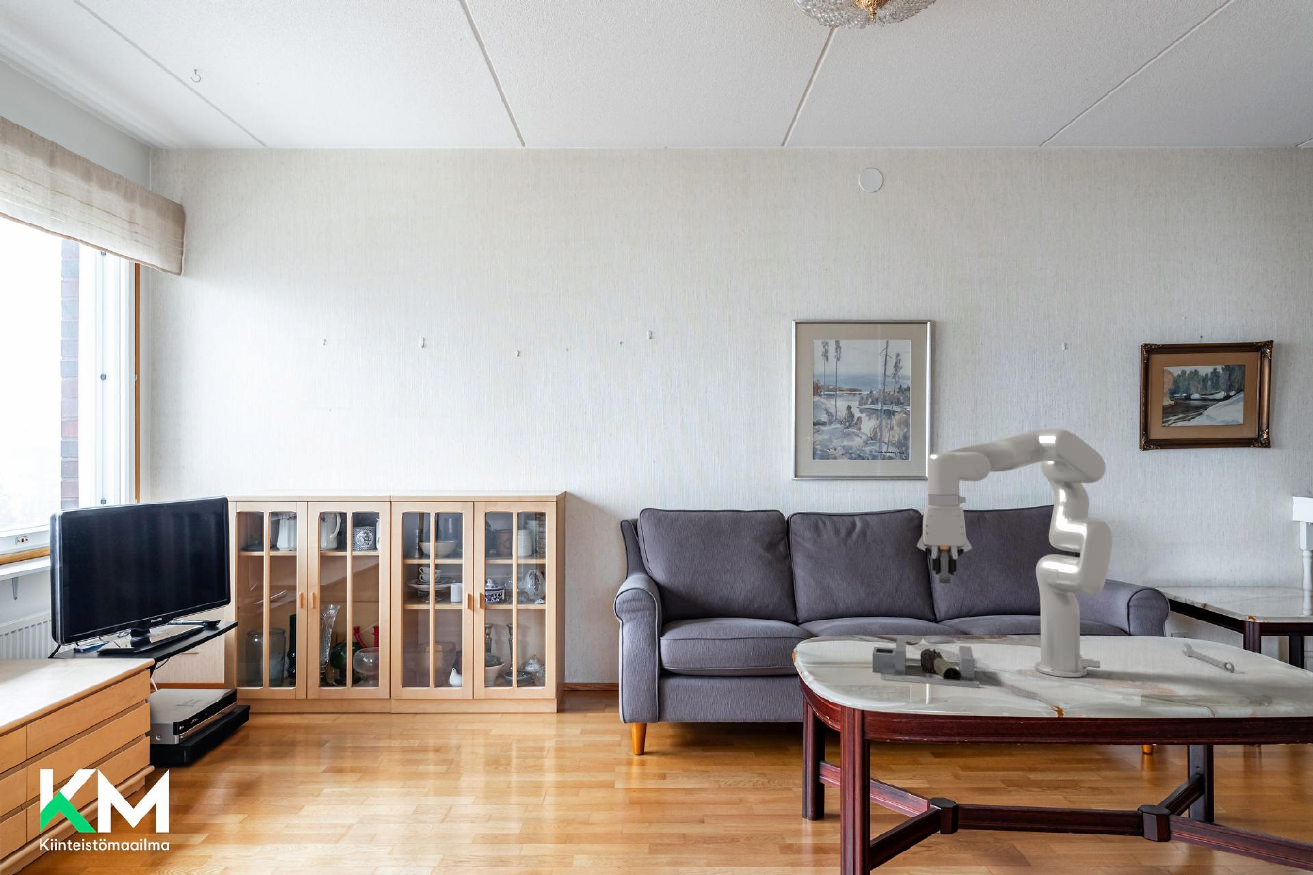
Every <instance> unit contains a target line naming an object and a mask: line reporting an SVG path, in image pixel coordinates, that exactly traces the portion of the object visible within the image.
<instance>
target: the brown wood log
mask: <svg viewBox="0 0 1313 875" xmlns="http://www.w3.org/2000/svg"><path fill="white" fill-rule="evenodd" d="M919 656H920V657H919V658H921V659H920V661H921V664H920V668H921V669H922V670H923V671H924V672H925V673H933V674H934V673H935V674H938V675H939V676H940V677H941V679H952V680H961V678H962V676H961V672H960V671H959V668H958V667H955V666H953V665H951V664H950V663H949V662H948V661H949V660H947V659H945V658H944V657H943V655H942V654H941V652H940V651H936V649H935V648H933V649H932V650H931V648H926V649H923V650H921V652H920V655H919ZM946 660H947V661H946ZM957 668H958V669H957Z"/></svg>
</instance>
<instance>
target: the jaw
mask: <svg viewBox="0 0 1313 875" xmlns="http://www.w3.org/2000/svg"><path fill="white" fill-rule="evenodd" d="M958 646H959V647H958V649H957V661H958V667H957V668H958V670H959V671H960V672H961V676H962V678H961V680H963V681H975V668H974V664H975V657H974V654H973V648H972V647H971V646H967V645H965V646H964V645H958Z"/></svg>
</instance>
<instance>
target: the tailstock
mask: <svg viewBox="0 0 1313 875" xmlns="http://www.w3.org/2000/svg"><path fill="white" fill-rule="evenodd" d="M895 642H896V643H895V647H883V646H882V647H881V646H874V647H873V651H872V673H879V674H881V673H882V674H894V675H905V676H906V673H907V663H906V657H907V639H906V638H905V639H904V638H896V641H895Z"/></svg>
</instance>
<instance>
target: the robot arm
mask: <svg viewBox="0 0 1313 875" xmlns="http://www.w3.org/2000/svg"><path fill="white" fill-rule="evenodd" d="M1037 463H1040V469H1041V473H1042V474H1043V475H1044V477H1045V478H1046V480H1047V481H1048V483H1049V484H1050V485H1051V488H1052V490H1053V495H1054V504H1053V509H1052V515H1051V521H1050V526H1049V532H1048V540H1049V544H1050V545H1051V546H1052V547H1054V548H1055V549H1058V550H1060V551H1067V552H1071V553H1078V554H1080V555H1079V557H1076V556H1072V555H1065V554H1046V555H1044V556H1043V557H1041V558H1039V560H1038V562H1037V563H1036V567H1035V575H1036V580H1037V585H1038V590H1039V600H1040V601H1039V602H1040V605H1039V606H1040V661H1037V662H1036V663H1035V664H1034V669H1035V670H1036V671H1038V672H1040V673H1043V674H1045V675H1051V676H1054V677H1055V676H1056V677H1064V678H1079V677H1084V676H1086V675H1088V671H1087V669H1088V668H1092V669H1101V662H1100V660H1093V659H1092V658H1084V657H1083V656H1082V655H1081V635H1080V634H1081V628H1080V627H1081V626H1080V625H1081V624H1080V622H1081V616H1080V615H1081V614H1080V613H1081V612H1080V604H1079V601H1078V599H1077V597H1076V595H1075V594H1079V595H1083V596H1084V595H1085V596H1096V595H1097V594H1099V593H1100V592H1101V591H1102V590H1103V588H1104V586H1105V583H1106V582H1107V576H1108V570H1109V565H1110V560H1111V555H1112V554H1111V553H1112V548H1113V534H1112V531H1111V528H1110V526H1109V525H1108V524H1107V523H1106V522H1105V521H1104V520H1101V519H1099V518H1091V517H1088V515H1089V510H1090V497H1089V495H1088V492H1087V490H1086V488H1085V487H1084V485H1083V484H1093V483H1096V482H1099V481H1100V480H1101V479H1102V478H1103V477H1104V476H1105V473H1106V462H1105V460H1104V458H1103V456H1102V455H1101V454H1100V453H1099V452H1098V451H1097V450H1096V449H1094V448H1093V447H1092V446H1091V445H1089V443H1087V442H1085V440H1083V439H1082V438H1080V437H1079V436H1077V435H1076V434H1074V433H1073V432H1071V431H1069V430H1067V429H1061V428H1056V429H1054V428H1053V429H1036V430H1030V431H1028V432H1023V433H1020V434H1016V435H1013V436H1009V437H1006V438H1001V439H998V440H991V441H986V442H983V443H978V444H974V445H973V444H972V445H968V446H964V447H960V448H959V447H958V448H955V449H952V450H948V451H946V452H933V453H930V454H929V455H928V456H927V506H926V505H925V506H924V510H923V515H922V516H923V517H922V534H921V537H920V538H919V540H918V542H917V545H916V547H917V548H918V549H920V550H921V551H922V550H923V551H924V552H925V553H927V554H928V555H929V556H930V558H931V561H932V562H931V563H932V564H931V565H932V568H931V569H932V571H934V574H935V575H937V576H938V574H939V559H938V546H941V547H942V546H946V547H951V559H950V564H951V576H954V575H955V572H957V568H958V567H957V564H958V563H957V559H959V558H960V557H961V556H962V555H963V554H964V553H965V552H966V553H967V552H968V551H970V550H972V548H973V546H972V544H971V543H970V542H969V539H968V538H967V536H966V535H967V533H966V522H965V515H964V514H965V513H964V508H963V506H960V505H961V504H963V503H966V500H967V499H966V497H965V496H961V495H960V482H980V481H982V480H984V479H987V477H988V476H989V475H990V472H991V473H992V472H994V473H996V472H1007V471H1014V470H1017V469H1019V468H1022V467H1026V466H1029V465H1034V464H1037ZM930 547H931V548H930Z"/></svg>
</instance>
